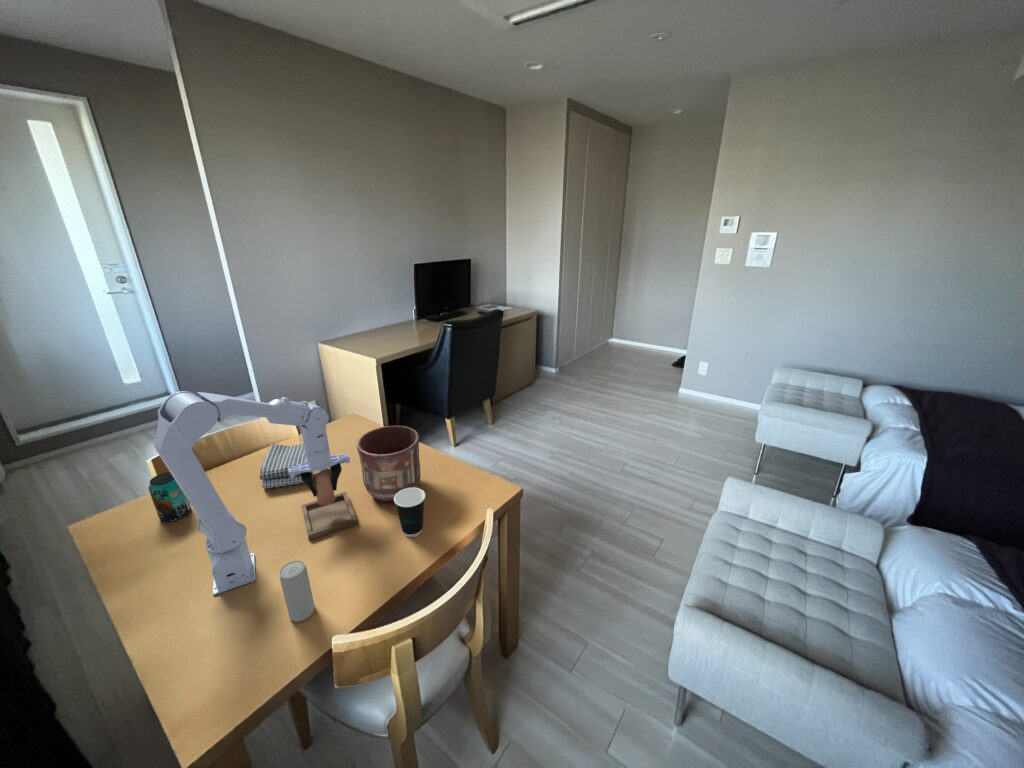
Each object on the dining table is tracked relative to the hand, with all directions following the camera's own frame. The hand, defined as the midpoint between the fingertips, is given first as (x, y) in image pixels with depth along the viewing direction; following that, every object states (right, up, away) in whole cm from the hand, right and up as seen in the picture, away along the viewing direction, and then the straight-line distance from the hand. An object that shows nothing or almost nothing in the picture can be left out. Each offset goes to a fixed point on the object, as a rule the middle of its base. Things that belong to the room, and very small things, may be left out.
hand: (324, 491), depth 110 cm
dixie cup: (+24, -10, -1) cm, 26 cm away
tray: (0, -8, +3) cm, 9 cm away
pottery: (+14, -4, +15) cm, 21 cm away
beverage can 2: (+7, -19, -25) cm, 32 cm away
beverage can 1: (-43, -7, +3) cm, 44 cm away
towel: (-21, 0, +24) cm, 32 cm away
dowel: (0, -3, +1) cm, 3 cm away
